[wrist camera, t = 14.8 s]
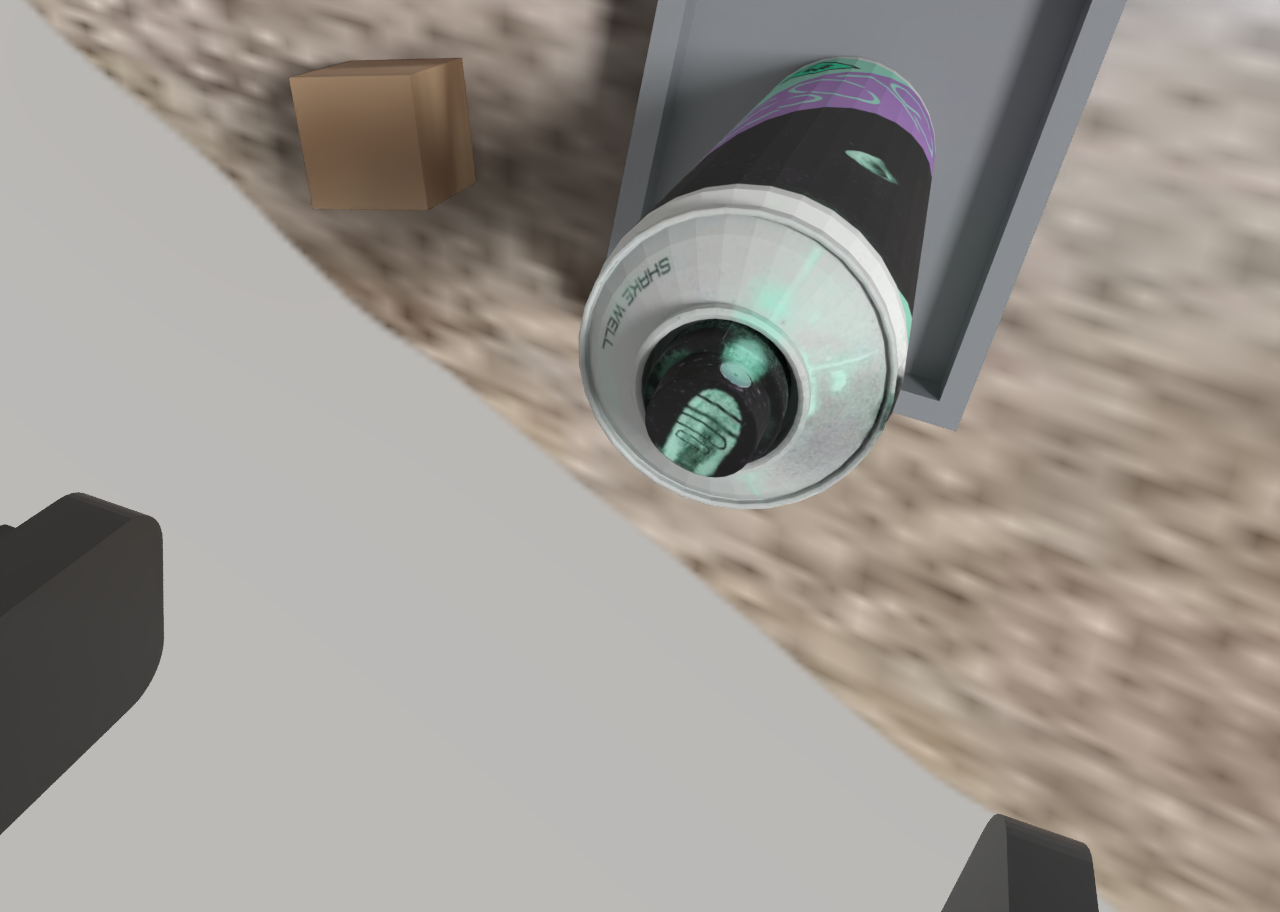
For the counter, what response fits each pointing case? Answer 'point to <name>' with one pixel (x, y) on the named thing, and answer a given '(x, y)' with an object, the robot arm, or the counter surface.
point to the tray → (961, 117)
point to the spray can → (769, 295)
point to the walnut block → (384, 133)
